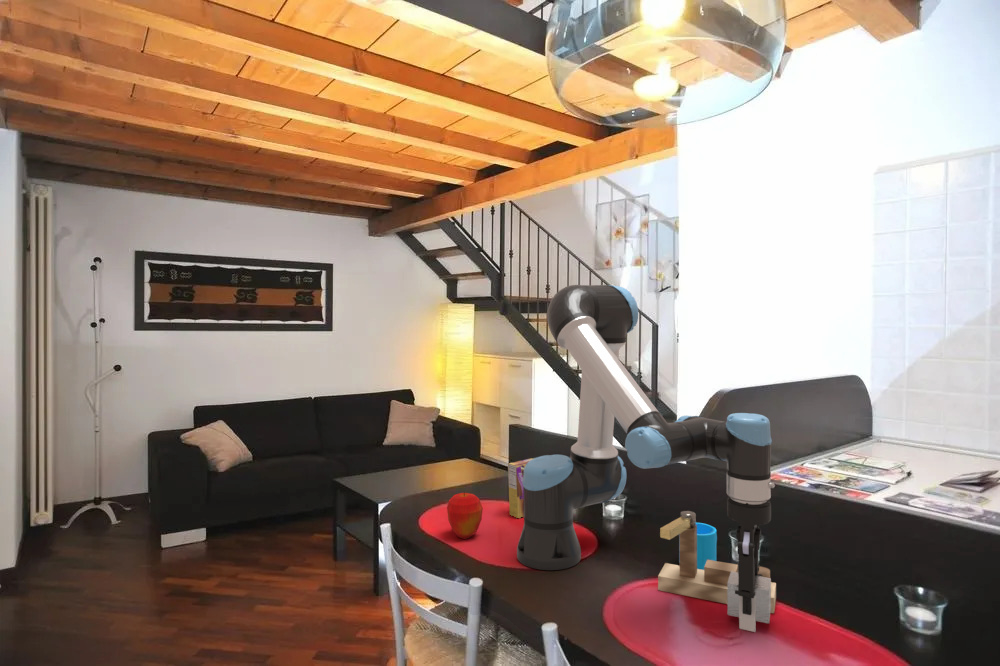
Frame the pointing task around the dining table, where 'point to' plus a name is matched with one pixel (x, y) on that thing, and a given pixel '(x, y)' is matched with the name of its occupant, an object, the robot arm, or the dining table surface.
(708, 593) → the wooden base with post
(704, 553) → the mug
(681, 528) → the lever
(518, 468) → the candy box
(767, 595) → the gray rectangular block
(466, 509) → the apple
